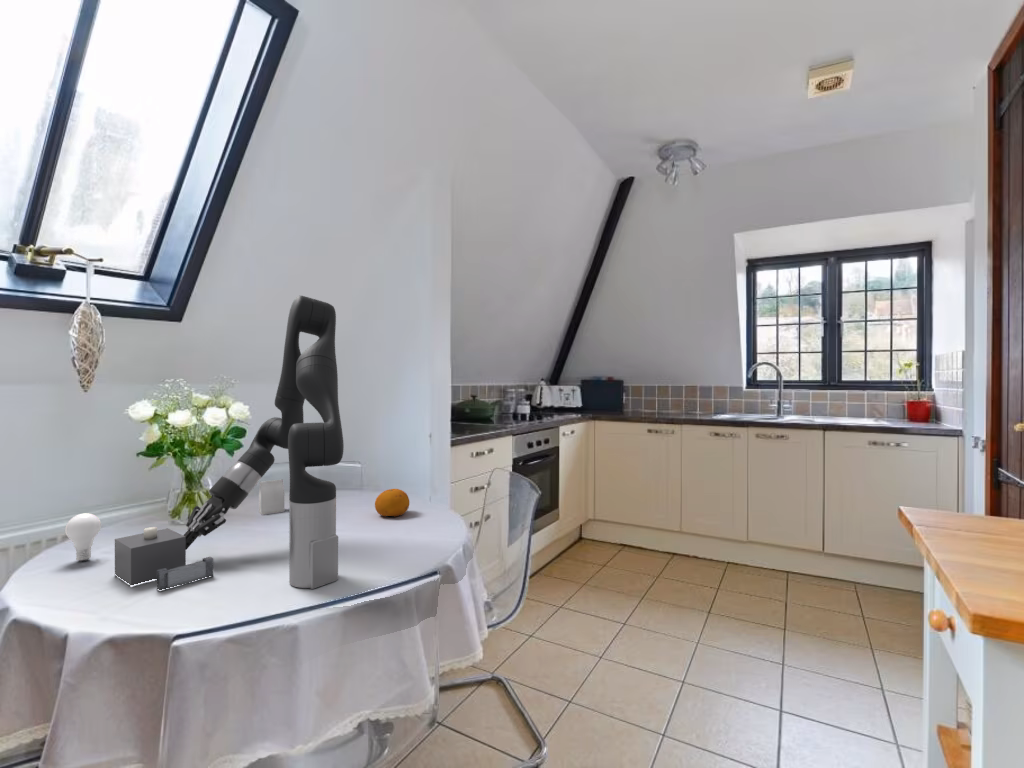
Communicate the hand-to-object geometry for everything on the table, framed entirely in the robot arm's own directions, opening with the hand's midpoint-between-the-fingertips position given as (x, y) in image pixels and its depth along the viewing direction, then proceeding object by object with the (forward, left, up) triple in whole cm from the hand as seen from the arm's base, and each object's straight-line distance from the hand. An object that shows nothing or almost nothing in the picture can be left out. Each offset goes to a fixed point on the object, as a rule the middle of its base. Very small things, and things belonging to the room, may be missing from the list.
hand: (180, 548), depth 115 cm
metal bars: (0, +3, -4) cm, 5 cm away
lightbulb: (+22, +12, -4) cm, 25 cm away
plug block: (0, +6, -4) cm, 7 cm away
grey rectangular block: (+30, -37, -5) cm, 48 cm away
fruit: (-3, -58, -5) cm, 58 cm away
